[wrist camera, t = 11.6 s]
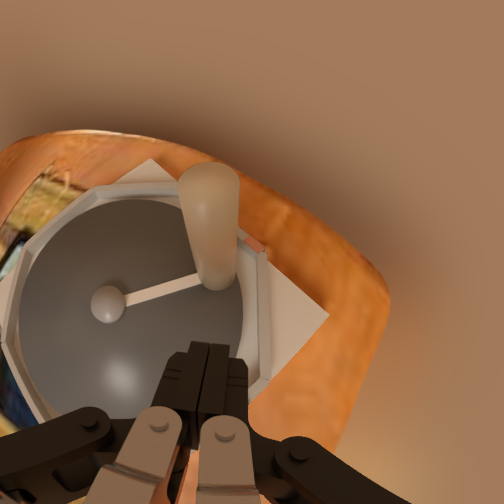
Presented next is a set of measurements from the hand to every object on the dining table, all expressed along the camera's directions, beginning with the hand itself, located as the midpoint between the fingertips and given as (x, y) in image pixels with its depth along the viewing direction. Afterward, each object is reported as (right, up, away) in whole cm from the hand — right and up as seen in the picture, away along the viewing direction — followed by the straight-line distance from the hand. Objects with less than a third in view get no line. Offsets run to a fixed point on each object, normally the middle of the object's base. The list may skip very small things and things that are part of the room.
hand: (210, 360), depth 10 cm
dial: (-8, 0, +8) cm, 11 cm away
